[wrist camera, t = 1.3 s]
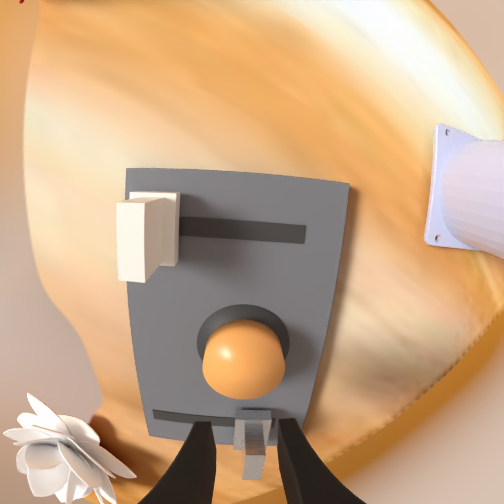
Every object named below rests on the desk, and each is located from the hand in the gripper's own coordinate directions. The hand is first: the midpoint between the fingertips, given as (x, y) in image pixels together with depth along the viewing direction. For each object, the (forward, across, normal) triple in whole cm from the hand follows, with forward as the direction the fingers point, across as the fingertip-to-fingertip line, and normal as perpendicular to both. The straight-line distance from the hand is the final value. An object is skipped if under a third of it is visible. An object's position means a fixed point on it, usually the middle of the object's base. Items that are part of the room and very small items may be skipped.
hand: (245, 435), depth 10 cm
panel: (+8, +1, 0) cm, 8 cm away
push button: (+7, 0, 0) cm, 7 cm away
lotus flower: (+9, +18, +14) cm, 25 cm away
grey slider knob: (+7, 0, +7) cm, 10 cm away
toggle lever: (+7, +4, -8) cm, 11 cm away
